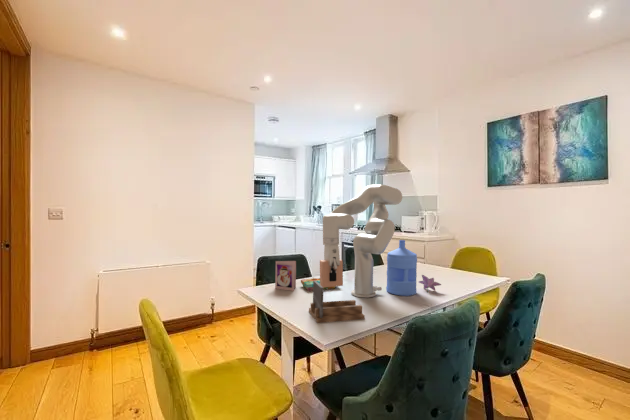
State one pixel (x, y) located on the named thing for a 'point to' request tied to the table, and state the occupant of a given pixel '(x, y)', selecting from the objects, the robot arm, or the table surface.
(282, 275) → the greeting card
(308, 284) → the puzzle game
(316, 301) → the book rack
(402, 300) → the table surface
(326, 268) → the book
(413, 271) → the water jug
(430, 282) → the lily
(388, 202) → the robot arm
